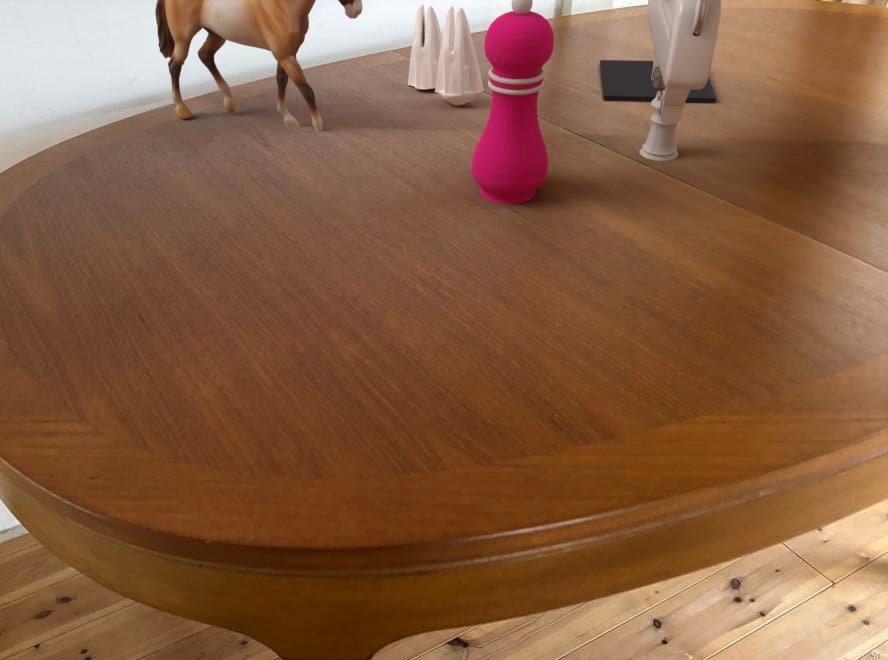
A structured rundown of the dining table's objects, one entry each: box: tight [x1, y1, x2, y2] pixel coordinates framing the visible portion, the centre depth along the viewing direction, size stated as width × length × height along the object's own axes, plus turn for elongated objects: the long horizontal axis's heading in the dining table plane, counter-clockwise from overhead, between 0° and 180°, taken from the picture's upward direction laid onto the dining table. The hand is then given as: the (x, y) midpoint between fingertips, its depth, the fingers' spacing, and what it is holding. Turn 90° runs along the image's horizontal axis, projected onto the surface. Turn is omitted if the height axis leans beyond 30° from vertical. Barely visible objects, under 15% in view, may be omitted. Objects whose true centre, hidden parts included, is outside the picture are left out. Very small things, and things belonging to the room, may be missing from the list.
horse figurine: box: [154, 0, 363, 132], centre depth 101 cm, size 31×8×21 cm, turn 56°
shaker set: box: [407, 3, 485, 106], centre depth 108 cm, size 12×4×11 cm, turn 28°
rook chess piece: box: [639, 90, 686, 162], centre depth 90 cm, size 4×4×8 cm
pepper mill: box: [470, 0, 555, 205], centre depth 81 cm, size 7×7×20 cm
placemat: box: [599, 59, 717, 104], centre depth 112 cm, size 13×13×1 cm
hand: (664, 102), depth 88 cm, fingers open, 8 cm apart
